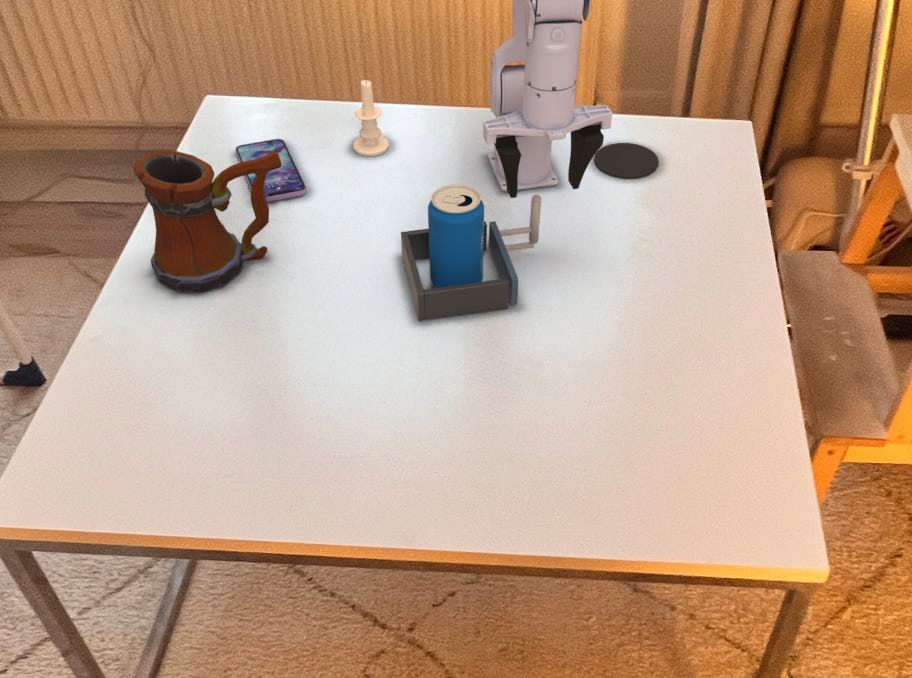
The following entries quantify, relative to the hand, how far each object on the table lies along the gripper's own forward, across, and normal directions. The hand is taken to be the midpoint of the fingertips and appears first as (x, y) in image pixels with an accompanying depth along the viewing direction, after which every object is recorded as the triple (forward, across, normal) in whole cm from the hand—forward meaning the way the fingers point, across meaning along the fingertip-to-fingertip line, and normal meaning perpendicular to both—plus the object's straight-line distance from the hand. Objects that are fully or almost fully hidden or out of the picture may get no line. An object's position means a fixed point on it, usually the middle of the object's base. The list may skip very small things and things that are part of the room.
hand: (542, 189), depth 111 cm
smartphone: (+9, -32, +27) cm, 43 cm away
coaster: (+9, +18, +18) cm, 27 cm away
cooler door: (+9, -3, -3) cm, 10 cm away
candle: (+10, -16, +31) cm, 36 cm away
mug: (+10, -39, +8) cm, 41 cm away
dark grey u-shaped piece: (+10, -11, -3) cm, 15 cm away
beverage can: (+10, -11, -3) cm, 15 cm away
